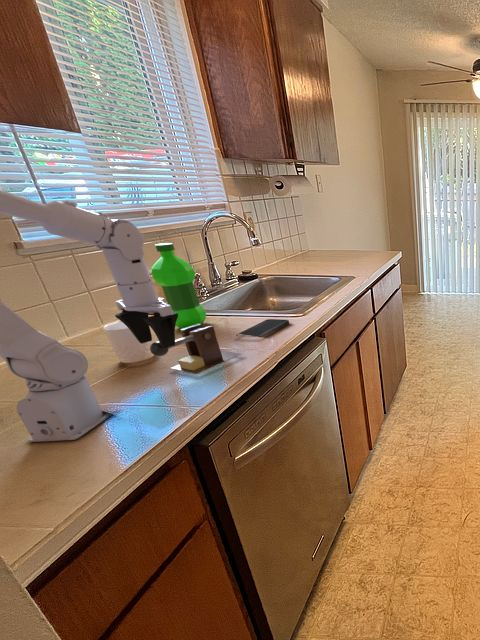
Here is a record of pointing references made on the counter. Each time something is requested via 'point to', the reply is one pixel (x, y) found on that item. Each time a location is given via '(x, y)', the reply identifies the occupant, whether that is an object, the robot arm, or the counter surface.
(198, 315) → the plastic bottle
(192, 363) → the butter
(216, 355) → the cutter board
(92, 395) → the robot arm
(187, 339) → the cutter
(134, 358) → the white cup
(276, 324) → the phone
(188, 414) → the counter surface
